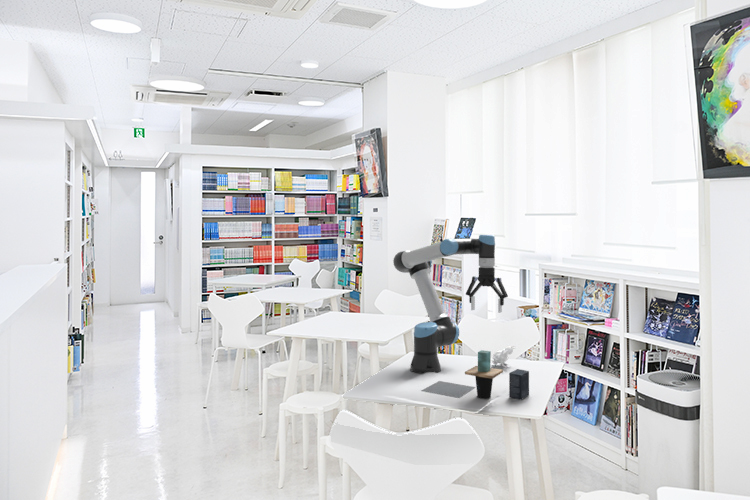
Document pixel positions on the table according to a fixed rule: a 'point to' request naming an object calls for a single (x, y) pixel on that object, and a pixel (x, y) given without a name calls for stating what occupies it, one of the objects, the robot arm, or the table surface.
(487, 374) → the lid
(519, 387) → the box
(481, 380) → the dixie cup
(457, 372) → the table surface
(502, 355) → the character figurine
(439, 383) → the mat
